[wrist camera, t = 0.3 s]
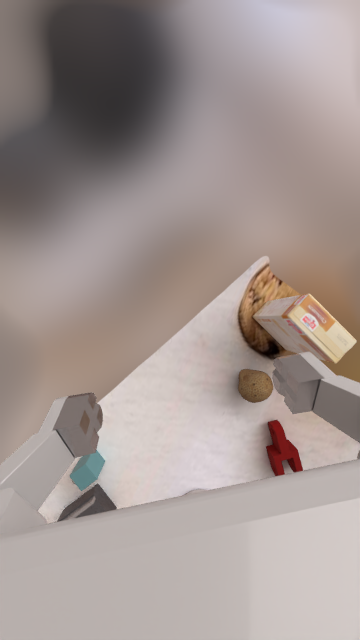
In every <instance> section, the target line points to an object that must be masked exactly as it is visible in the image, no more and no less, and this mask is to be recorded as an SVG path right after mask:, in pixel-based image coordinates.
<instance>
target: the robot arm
mask: <svg viewBox="0 0 360 640" xmlns="http://www.w3.org/2000/svg"><path fill="white" fill-rule="evenodd" d="M273 365H274V367H275V368H276V369H275V370H274V371H273V375H272V379H273V383H274V386H275V388H276V390H277V391H278V393H279V394H281V395H283V396H285V398H284V402H285V403H286V405H287V406H288V408H289V409H290V411H291V412H292V414H296V413H302V412H308V411H313V412H314V413H315V414H317V415H318V416H320V417H321V418H323V419H324V420H326V421H327V422H329V423H330V424H332V425H333V426H335V427H336V428H338V429H339V430H341V431H342V432H344V433H345V434H347V435H348V436H350V437H351V438H353V439H355V440H356V441H358V442H359V443H360V383H358V382H355V381H353V380H350V379H348V378H345V377H343V376H336V375H335V374H334V373H333V372H332V371H331V370H330V369H328V368H327V367H326V366H325V365H324V364H323V363H322V362H321V361H320V360H319V359H318V358H317V357H315V356H314V355H313V354H312V353H311V352H304V353H299V354H294V355H289V356H284V357H279V358H275V360H274V364H273ZM95 402H96V396H95V394H94V393H85V394H79V395H73V396H68V397H62V398H57V399H56V400H55V401H54V402H53V404H52V406H51V408H50V410H49V412H48V414H47V416H46V418H45V420H44V422H43V424H42V426H41V428H40V430H39V432H38V434H34V435H33V436H31V437H30V438H29V439H28V440H27V441H26V442H25V443H24V444H23V445H21V446H20V447H19V448H18V449H17V450H16V451H15V452H14V453H13V454H12V455H10V456H9V457H8V458H7V459H6V460H5V461H4V462H3V463H2V464H1V465H0V640H360V451H359V453H358V456H357V458H358V459H357V460H352V461H347V462H342V463H338V464H333V465H328V466H323V467H318V468H313V469H309V470H304V471H299V472H294V473H289V474H285V475H280V476H275V477H270V478H265V479H261V480H256V481H251V482H246V483H241V484H236V485H232V486H227V487H222V488H217V489H212V490H204V489H198V490H193V491H190V492H188V493H187V494H185V495H184V496H179V497H174V498H169V499H165V500H160V501H155V502H150V503H145V504H141V505H136V506H131V507H126V508H121V509H117V510H112V511H107V512H102V513H98V514H93V515H88V516H83V517H78V518H74V519H69V520H64V521H59V522H54V523H50V524H47V520H46V519H45V518H44V517H43V516H42V515H41V514H40V513H39V512H38V509H39V508H40V507H41V505H42V504H43V502H44V501H45V500H46V498H47V497H48V495H49V494H50V493H51V491H52V490H53V488H54V487H55V486H56V484H57V483H58V482H59V480H60V479H61V477H62V476H63V475H64V473H65V472H66V470H67V469H68V468H69V466H70V465H71V463H72V462H73V461H74V459H75V457H80V456H84V455H89V454H93V453H96V449H97V444H98V440H99V436H98V434H97V432H98V431H99V429H100V428H101V427H102V422H103V413H102V409H101V407H100V405H99V404H97V403H95Z"/></svg>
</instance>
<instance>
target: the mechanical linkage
mask: <svg viewBox="0 0 360 640" xmlns="http://www.w3.org/2000/svg"><path fill="white" fill-rule="evenodd" d="M268 426H269V430H270V434H271V437H272V441H273V445H270V446H267V447H266V449H267V452H268V456H269V460H270V464H271V467H272V470H273V472H274V474H275V476H280V475H285V473H284V470H283V466H282V462H281V461H283V460H288V463H289V465H290V467H291V469H292V470H293V472H299V471H303V468H302V465H301V461H300V457H299V453H298V450H297V448H296V447H295V446H294V445H293V444H292V443H291V442H290V441H289V440H286V437H285V433H284V430H283V428H282V426H281V424H280V423H279V421H278V420H274V421H271V422H268Z"/></svg>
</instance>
